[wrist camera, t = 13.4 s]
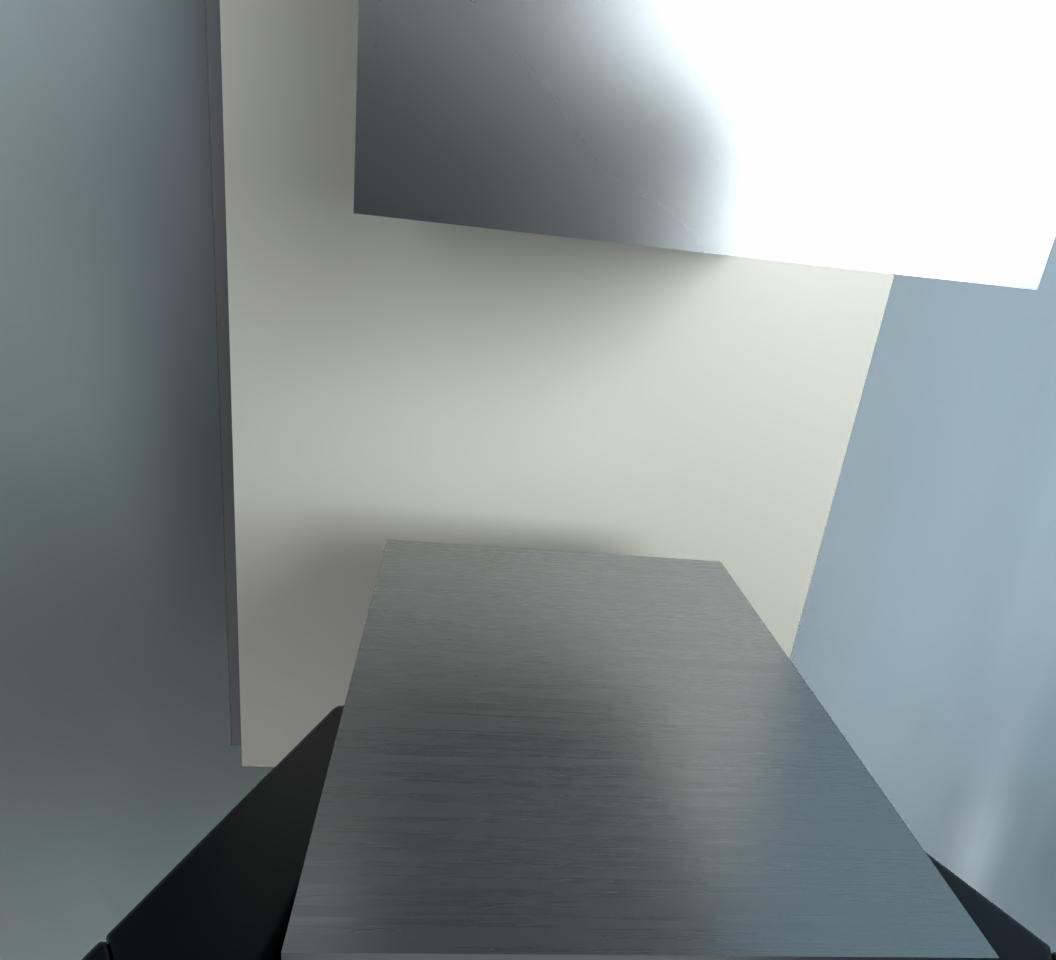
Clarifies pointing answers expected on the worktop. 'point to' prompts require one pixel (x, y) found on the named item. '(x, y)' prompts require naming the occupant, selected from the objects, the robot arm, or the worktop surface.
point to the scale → (481, 384)
